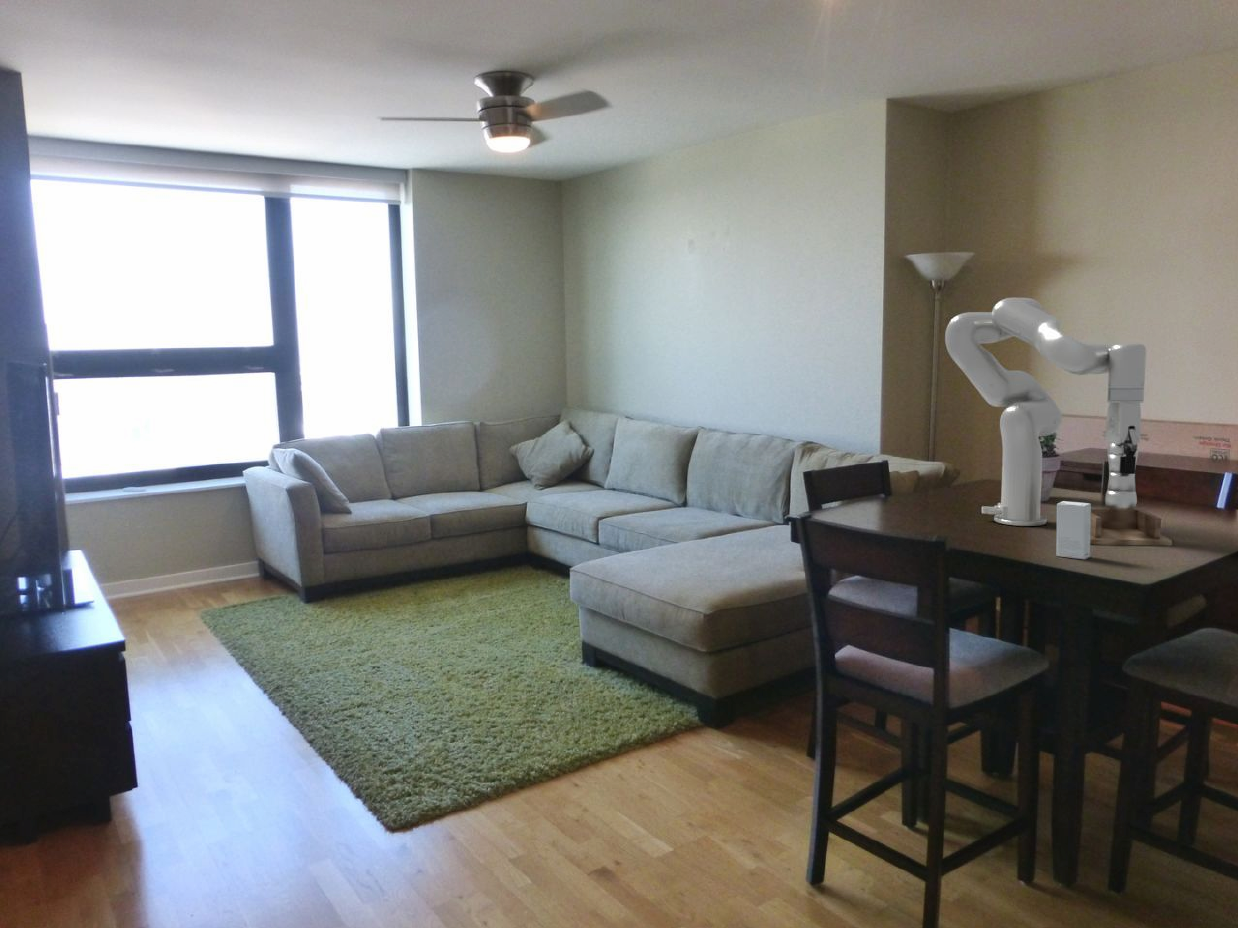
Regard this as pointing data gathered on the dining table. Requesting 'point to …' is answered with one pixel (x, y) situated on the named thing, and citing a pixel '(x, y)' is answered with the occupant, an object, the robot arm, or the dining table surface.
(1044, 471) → the potted plant
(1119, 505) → the silver bottle
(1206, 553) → the dining table surface
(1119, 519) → the brown tray
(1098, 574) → the dining table surface
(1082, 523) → the skincare box
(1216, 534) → the dining table surface
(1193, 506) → the dining table surface
